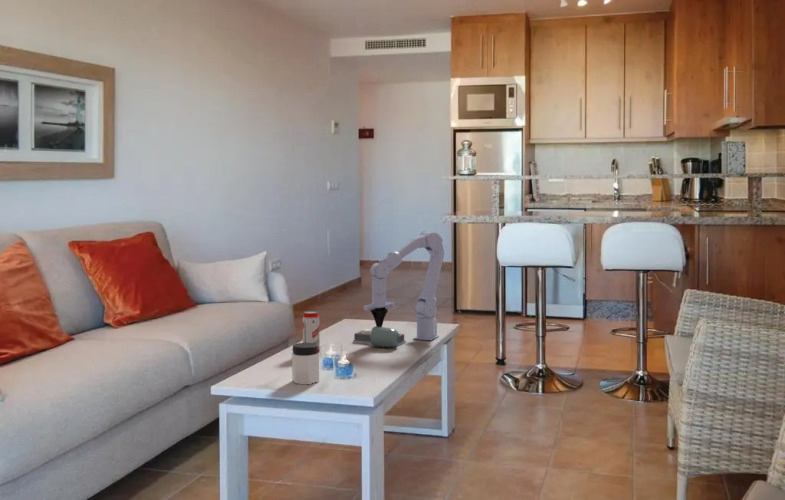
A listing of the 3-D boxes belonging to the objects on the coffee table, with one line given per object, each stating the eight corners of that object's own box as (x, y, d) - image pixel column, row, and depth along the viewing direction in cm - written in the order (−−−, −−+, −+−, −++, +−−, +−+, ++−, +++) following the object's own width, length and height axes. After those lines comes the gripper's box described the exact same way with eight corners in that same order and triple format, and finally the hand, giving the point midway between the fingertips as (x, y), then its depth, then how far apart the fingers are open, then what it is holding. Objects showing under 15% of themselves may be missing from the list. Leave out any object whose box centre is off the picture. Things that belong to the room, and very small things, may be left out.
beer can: (322, 352, 298) (322, 311, 296) (315, 356, 292) (315, 313, 290) (307, 351, 300) (306, 310, 298) (300, 355, 294) (299, 312, 292)
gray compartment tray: (362, 338, 325) (362, 330, 325) (405, 342, 317) (405, 334, 316) (352, 342, 317) (352, 333, 317) (397, 346, 309) (397, 337, 309)
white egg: (363, 336, 322) (363, 328, 322) (372, 336, 320) (372, 329, 320) (359, 337, 318) (359, 330, 318) (368, 338, 317) (368, 331, 316)
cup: (394, 329, 302) (370, 327, 305) (393, 349, 302) (369, 347, 305) (401, 327, 309) (378, 325, 313) (400, 347, 309) (377, 345, 313)
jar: (306, 376, 261) (306, 341, 260) (324, 380, 256) (323, 344, 255) (286, 382, 254) (286, 345, 253) (304, 386, 249) (303, 349, 248)
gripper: (386, 290, 323) (386, 323, 324) (358, 293, 314) (358, 327, 315) (397, 292, 318) (397, 325, 319) (369, 295, 308) (369, 329, 309)
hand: (379, 326), depth 316 cm, fingers closed
